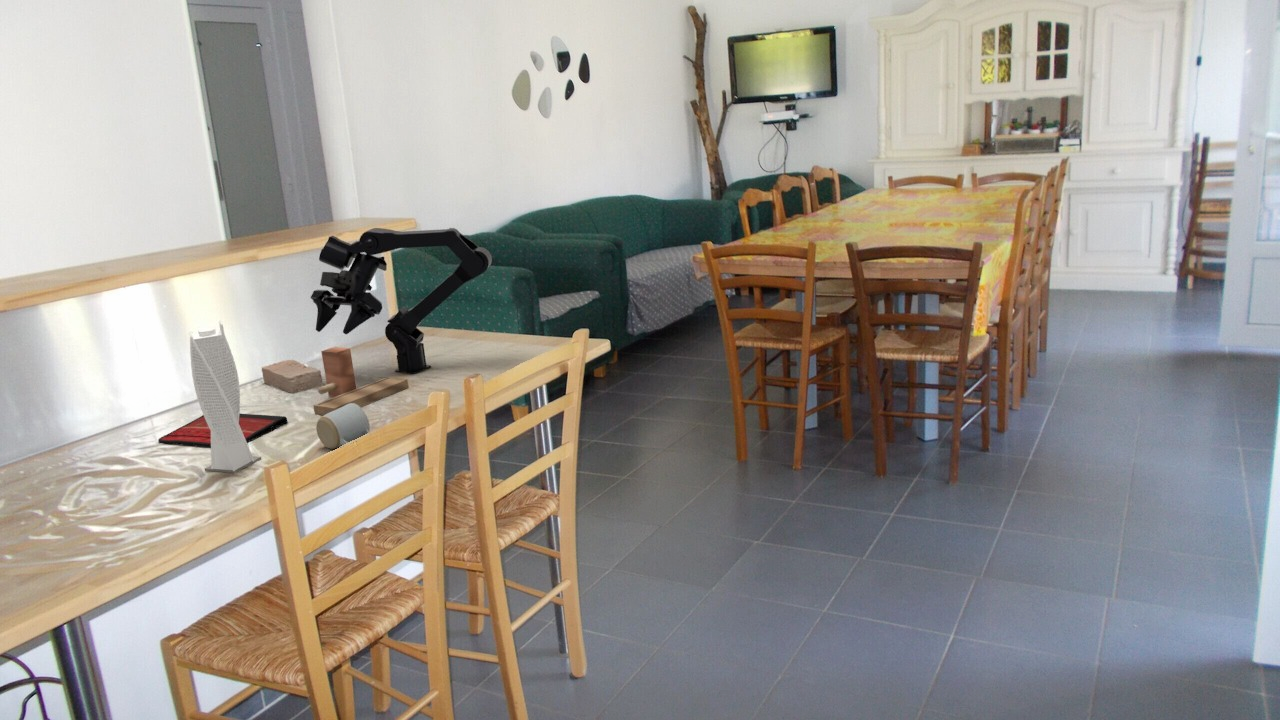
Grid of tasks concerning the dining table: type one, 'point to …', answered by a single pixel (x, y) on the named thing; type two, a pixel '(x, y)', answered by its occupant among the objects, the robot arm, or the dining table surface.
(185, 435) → the binder
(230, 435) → the skyscraper
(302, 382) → the brick
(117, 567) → the dining table surface
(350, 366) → the wooden block with peg
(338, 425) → the ceramic mug
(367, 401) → the board
